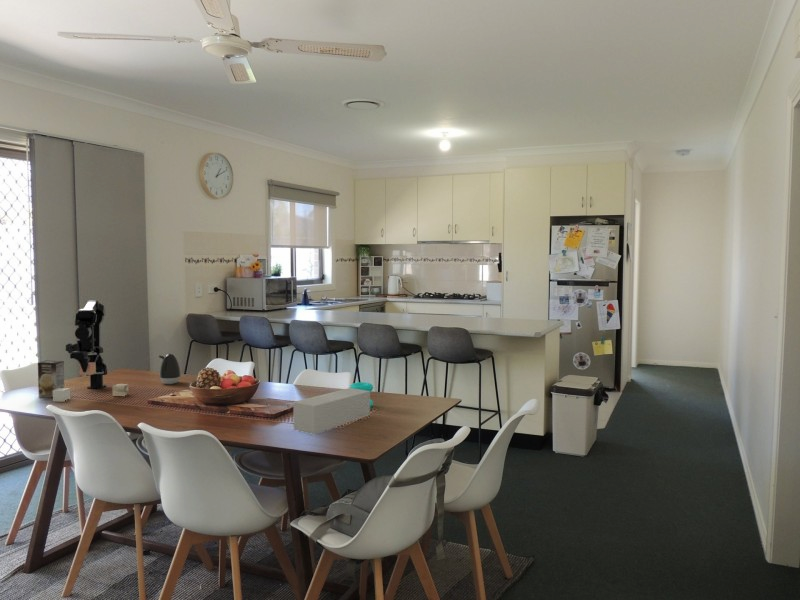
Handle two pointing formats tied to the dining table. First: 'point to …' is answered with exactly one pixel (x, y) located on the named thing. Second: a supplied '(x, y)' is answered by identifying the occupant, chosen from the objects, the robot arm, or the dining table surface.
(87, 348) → the robot arm
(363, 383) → the donuts
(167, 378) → the pump dispenser
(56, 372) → the coffee box
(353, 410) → the stack of papers
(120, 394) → the maple block
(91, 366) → the terracotta block
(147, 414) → the dining table surface
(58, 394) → the offwhite block
